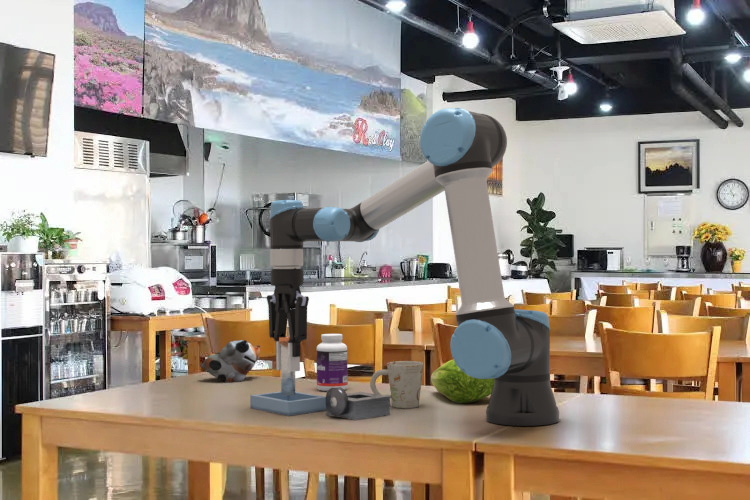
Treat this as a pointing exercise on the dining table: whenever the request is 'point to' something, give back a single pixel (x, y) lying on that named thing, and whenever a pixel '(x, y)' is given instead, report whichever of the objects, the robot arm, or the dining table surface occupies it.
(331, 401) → the block
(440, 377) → the lettuce
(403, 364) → the mug
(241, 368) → the lucky cat figurine
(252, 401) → the tray
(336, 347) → the pill bottle
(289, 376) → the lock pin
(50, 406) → the dining table surface
